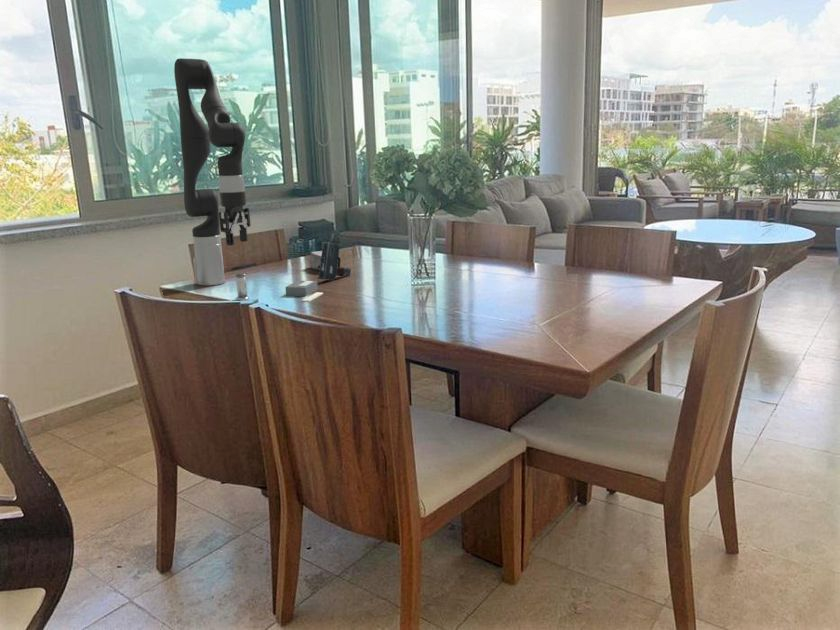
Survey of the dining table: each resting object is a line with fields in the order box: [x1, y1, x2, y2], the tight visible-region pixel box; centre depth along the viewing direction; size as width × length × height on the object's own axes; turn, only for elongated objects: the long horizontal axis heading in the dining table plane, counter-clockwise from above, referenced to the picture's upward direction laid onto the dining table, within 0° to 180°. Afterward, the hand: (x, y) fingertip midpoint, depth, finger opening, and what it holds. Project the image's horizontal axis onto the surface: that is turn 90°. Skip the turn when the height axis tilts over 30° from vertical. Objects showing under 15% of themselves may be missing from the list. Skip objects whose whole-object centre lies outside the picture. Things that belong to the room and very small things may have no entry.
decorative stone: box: [309, 250, 322, 272], centre depth 254 cm, size 15×7×10 cm
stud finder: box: [285, 280, 319, 297], centre depth 215 cm, size 7×10×4 cm
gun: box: [317, 232, 352, 281], centre depth 234 cm, size 3×17×15 cm
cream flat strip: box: [301, 291, 324, 303], centre depth 207 cm, size 2×11×1 cm, turn 165°
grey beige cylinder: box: [234, 273, 250, 301], centre depth 207 cm, size 4×4×8 cm
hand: (237, 243), depth 203 cm, fingers open, 7 cm apart
